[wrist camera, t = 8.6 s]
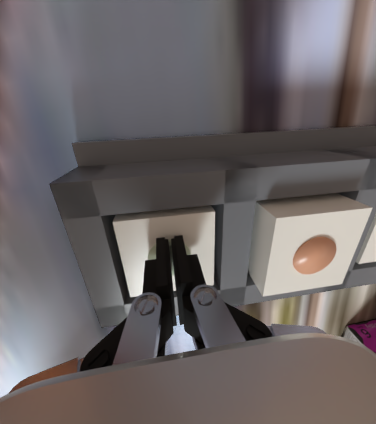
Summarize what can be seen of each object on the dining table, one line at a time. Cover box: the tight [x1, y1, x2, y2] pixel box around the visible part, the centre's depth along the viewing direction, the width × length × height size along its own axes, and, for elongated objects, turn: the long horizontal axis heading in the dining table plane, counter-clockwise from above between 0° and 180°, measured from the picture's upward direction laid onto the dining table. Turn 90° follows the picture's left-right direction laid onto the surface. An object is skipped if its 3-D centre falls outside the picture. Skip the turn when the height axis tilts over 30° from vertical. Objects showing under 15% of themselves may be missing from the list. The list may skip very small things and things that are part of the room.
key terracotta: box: [248, 193, 372, 297], centre depth 14 cm, size 6×6×3 cm
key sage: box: [113, 205, 215, 297], centre depth 14 cm, size 6×6×3 cm
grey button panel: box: [49, 125, 376, 328], centre depth 16 cm, size 14×29×5 cm, turn 92°
